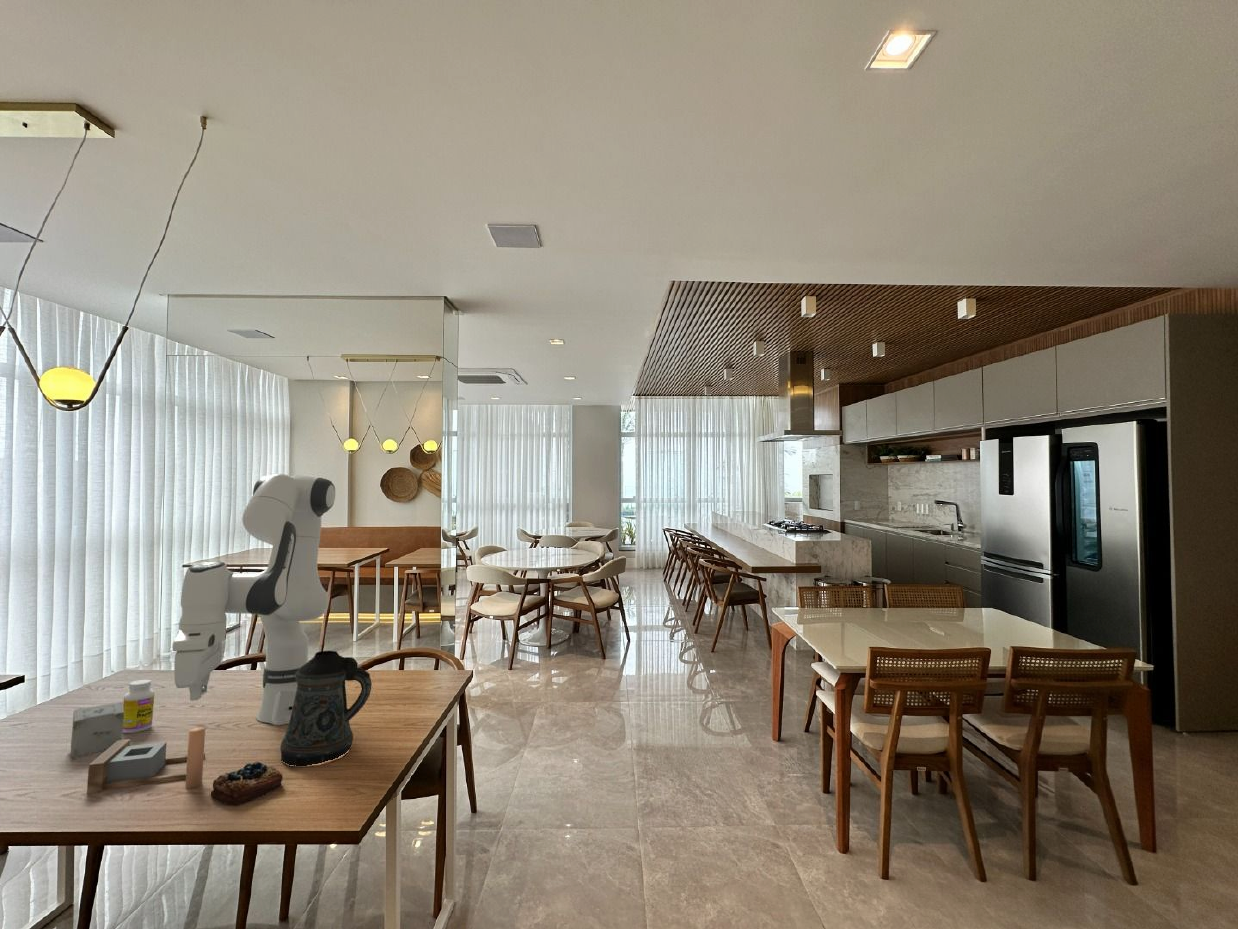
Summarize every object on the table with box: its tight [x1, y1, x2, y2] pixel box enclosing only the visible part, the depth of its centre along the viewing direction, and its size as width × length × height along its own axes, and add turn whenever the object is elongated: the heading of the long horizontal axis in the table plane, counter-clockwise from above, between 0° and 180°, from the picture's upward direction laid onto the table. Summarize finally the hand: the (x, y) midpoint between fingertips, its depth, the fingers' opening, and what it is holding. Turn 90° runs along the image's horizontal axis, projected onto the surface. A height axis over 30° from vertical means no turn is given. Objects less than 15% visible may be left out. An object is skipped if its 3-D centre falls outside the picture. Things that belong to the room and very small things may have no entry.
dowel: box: [185, 726, 206, 789], centre depth 131 cm, size 3×3×12 cm
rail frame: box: [86, 738, 206, 794], centre depth 136 cm, size 18×14×6 cm
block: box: [107, 741, 167, 783], centre depth 136 cm, size 8×9×5 cm
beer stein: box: [279, 650, 372, 766], centre depth 150 cm, size 16×19×25 cm
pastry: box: [210, 761, 283, 807], centre depth 129 cm, size 11×12×6 cm
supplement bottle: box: [122, 679, 155, 734], centre depth 163 cm, size 7×7×13 cm
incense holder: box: [69, 701, 124, 759], centre depth 149 cm, size 10×8×10 cm
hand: (198, 696), depth 132 cm, fingers open, 3 cm apart
